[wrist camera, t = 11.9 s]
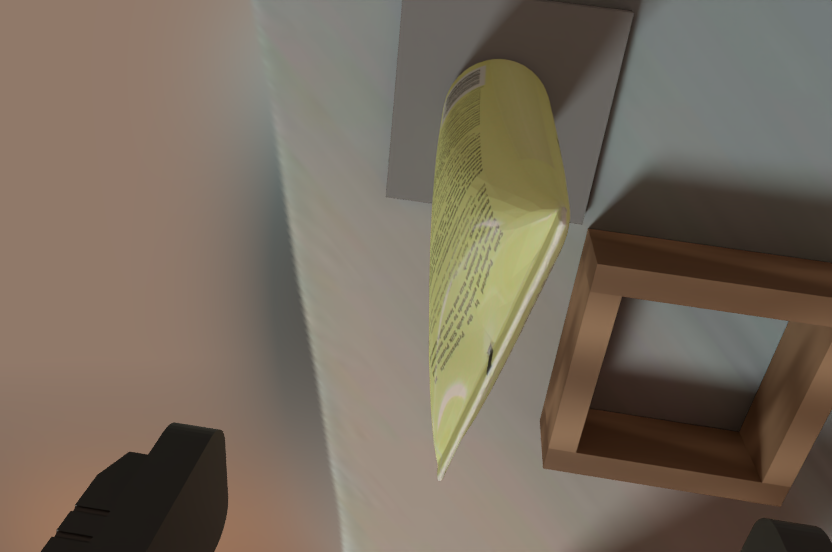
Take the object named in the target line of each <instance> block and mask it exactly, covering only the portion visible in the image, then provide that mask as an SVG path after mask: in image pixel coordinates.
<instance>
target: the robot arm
mask: <svg viewBox="0 0 832 552" xmlns="http://www.w3.org/2000/svg"><path fill="white" fill-rule="evenodd" d="M227 509H228V487H227V469H226V451H225V437H224V433H223V431H222V430H218V429H212V428H206V427H199V426H193V425H187V424H180V423H171V424H170V425H169V426H168V427H167V428H166V429H165V431H164V432H163V433H162V435H161V436H160V438H159V439H158V441H157V442H156V444H155V445H154V447H153V448H152V450H151V451H150V453H149V454H148V455H146V454H141V453H134V452H128V453H127V454H126V455H124V456H123V457H121V458H120V459H119V460H117V461H116V462H115V463H113V464H112V465H110V466H109V467H108V468H107V469H105V470H103V471H102V472H101V473H99V474H98V475H97V476H96V477H95V479H94V480H93V481H92V483H91V484H90V486H89V487H88V488H87V490H86V491H85V492H84V494H83V495H82V496H81V498H80V499H79V500H78V502H77V503H76V504H75V509H74V511H70V513H69V514H68V515H67V517H66V518H65V519H64V521H63V522H62V523H61V525H60V526H59V528H58V529H57V533H56V535H55V537H51V538H50V540H49V541H48V542H47V544H46V545H45V547H44V548H43V549H42V551H41V552H214V551H215V549H216V547H217V545H218V542H219V540H220V537H221V534H222V531H223V528H224V524H225V520H226V515H227ZM741 552H832V543H831V541H830V539H829V538H828V536H827V534H826V533H825V532H824V531H823V530H822V529H820V528H819V527H817V526H810V525H804V524H798V523H792V522H785V521H779V520H773V519H766V518H762V519H759V520H758V521H757V522H756V523H755V524H754V526H753V528H752V530H751V532H750V534H749V536H748V538H747V540H746V542H745V544H744V546H743V548H742V550H741Z"/></svg>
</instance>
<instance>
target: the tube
mask: <svg viewBox="0 0 832 552" xmlns="http://www.w3.org/2000/svg"><path fill="white" fill-rule="evenodd" d="M569 222H570V207H569V199H568V192H567V185H566V178H565V172H564V167H563V161H562V156H561V151H560V147H559V141H558V136H557V132H556V127H555V123H554V118H553V114H552V110H551V105H550V101H549V97H548V95H547V92H546V89H545V87H544V85H543V84H542V82H541V80H540V79H539V78H538V77H537V76H536V75H535V74H534V73H533V72H532V71H531V70H530V69H528V68H527V67H525V66H524V65H522V64H520V63H517V62H515V61H511V60H505V59H491V60H486V61H483V62H480V63H477V64H475V65H473V66H471V67H469V68H468V69H467V70H465V71H464V72H463V73H462V74H461V75H460V76H458V77H457V79H456V80H455V81H454V83H453V84H452V85H451V88H450V90H449V92H448V94H447V96H446V100H445V103H444V107H443V113H442V119H441V126H440V132H439V139H438V146H437V154H436V164H435V175H434V188H433V201H432V221H431V243H430V280H429V370H430V397H431V415H432V428H433V439H434V447H435V453H436V459H437V463H438V470H437V478H438V480H439V481H441V480H442V479H443V477H444V475H445V473H446V470H447V468H448V466H449V464H450V462H451V460H452V458H453V456H454V454H455V452H456V449H457V447H458V445H459V443H460V441H461V439H462V438H463V436H464V435H465V433H466V432H467V430H468V429H469V427H470V426H471V424H472V422H473V421H474V419H475V418H476V416H477V414H478V412H479V411H480V409H481V407H482V405H483V404H484V402H485V400H486V398H487V397H488V395H489V393H490V391H491V389H492V388H493V386H494V384H495V382H496V380H497V378H498V376H499V374H500V372H501V370H502V369H503V367H504V365H505V363H506V361H507V359H508V357H509V355H510V353H511V351H512V349H513V347H514V345H515V343H516V341H517V339H518V337H519V335H520V333H521V331H522V329H523V327H524V324H525V323H526V321H527V319H528V316H529V314H530V312H531V310H532V308H533V306H534V304H535V302H536V300H537V298H538V296H539V294H540V292H541V290H542V288H543V286H544V284H545V282H546V280H547V278H548V276H549V274H550V272H551V270H552V268H553V266H554V263H555V261H556V259H557V257H558V255H559V253H560V251H561V249H562V246H563V244H564V241H565V238H566V236H567V233H568V227H569Z"/></svg>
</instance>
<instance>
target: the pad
mask: <svg viewBox="0 0 832 552" xmlns="http://www.w3.org/2000/svg"><path fill="white" fill-rule="evenodd" d="M633 15H634V12H632V11H630V10H622V9H613V8H605V7H597V6H589V5H581V4H572V3H564V2H556V1H548V0H402V11H401V23H400V35H399V47H398V58H397V70H396V82H395V94H394V106H393V118H392V130H391V142H390V154H389V166H388V178H387V189H386V197H389V198H396V199H403V200H411V201H418V202H425V203H432V201H433V188H434V175H435V164H436V154H437V146H438V139H439V132H440V126H441V119H442V113H443V107H444V103H445V100H446V96H447V94H448V92H449V90H450V88H451V85H452V84H453V83H454V81H455V80H456V79H457V77H458V76H460V75H461V74H462V73H463V72H464V71H465V70H467V69H468V68H469V67H471V66H473V65H475V64H477V63H480V62H483V61H486V60H491V59H505V60H511V61H515V62H517V63H520V64H522V65H524V66H525V67H527V68H528V69H530V70H531V71H532V72H533V73H534V74H535V75H536V76H537V77H538V78H539V79H540V80H541V82H542V84H543V85H544V87H545V89H546V92H547V95H548V97H549V101H550V105H551V110H552V114H553V118H554V123H555V127H556V132H557V136H558V141H559V147H560V151H561V156H562V161H563V167H564V172H565V178H566V185H567V192H568V199H569V207H570V222H569V223H574V224H581V225H582V223H583V219H584V215H585V211H586V207H587V203H588V199H589V195H590V191H591V187H592V183H593V178H594V174H595V170H596V166H597V162H598V158H599V154H600V150H601V146H602V142H603V138H604V134H605V130H606V125H607V121H608V117H609V113H610V109H611V105H612V101H613V97H614V93H615V89H616V85H617V81H618V77H619V72H620V68H621V64H622V60H623V56H624V52H625V48H626V44H627V40H628V36H629V32H630V28H631V24H632V20H633Z"/></svg>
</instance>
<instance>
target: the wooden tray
mask: <svg viewBox="0 0 832 552" xmlns="http://www.w3.org/2000/svg"><path fill="white" fill-rule="evenodd" d="M622 297H629V298H636V299H643V300H650V301H656V302H663V303H670V304H677V305H684V306H691V307H697V308H704V309H711V310H718V311H725V312H732V313H738V314H745V315H752V316H759V317H766V318H773V319H779V320H786V321H789V322H788V324H787V327H786V329H785V331H784V333H783V336H782V338H781V340H780V342H779V344H778V347H777V349H776V351H775V353H774V356H773V358H772V360H771V362H770V365H769V367H768V369H767V371H766V373H765V376H764V378H763V380H762V382H761V385H760V387H759V389H758V391H757V393H756V396H755V398H754V400H753V402H752V405H751V407H750V409H749V411H748V414H747V416H746V418H745V420H744V422H743V425H742V427H741V429H740V431H739V432H736V431H730V430H723V429H717V428H710V427H704V426H698V425H691V424H685V423H678V422H672V421H666V420H659V419H653V418H646V417H640V416H634V415H627V414H621V413H614V412H608V411H602V410H595V409H589V407H590V403H591V400H592V396H593V393H594V390H595V386H596V383H597V379H598V376H599V373H600V369H601V366H602V362H603V359H604V356H605V352H606V349H607V346H608V342H609V339H610V335H611V332H612V329H613V325H614V322H615V318H616V315H617V312H618V308H619V305H620V301H621V298H622ZM831 410H832V263H829V262H822V261H815V260H808V259H801V258H794V257H787V256H780V255H773V254H765V253H758V252H751V251H744V250H737V249H730V248H723V247H716V246H709V245H702V244H695V243H687V242H680V241H673V240H666V239H659V238H652V237H645V236H638V235H631V234H624V233H616V232H609V231H602V230H595V229H588V231H587V235H586V239H585V243H584V247H583V251H582V255H581V259H580V263H579V267H578V271H577V275H576V279H575V283H574V287H573V291H572V295H571V299H570V303H569V307H568V311H567V315H566V319H565V323H564V327H563V331H562V335H561V339H560V343H559V347H558V351H557V355H556V359H555V363H554V367H553V371H552V375H551V379H550V383H549V386H548V390H547V394H546V398H545V402H544V406H543V410H542V414H541V418H540V429H541V444H542V459H543V468H545V469H551V470H557V471H563V472H569V473H575V474H582V475H588V476H594V477H600V478H606V479H612V480H619V481H625V482H631V483H637V484H643V485H649V486H656V487H662V488H668V489H674V490H680V491H686V492H693V493H699V494H705V495H711V496H717V497H723V498H730V499H736V500H742V501H748V502H754V503H760V504H767V505H773V506H779V507H780V506H781V505H782V503H783V501H784V499H785V497H786V495H787V493H788V491H789V489H790V487H791V486H792V484H793V482H794V480H795V478H796V476H797V474H798V472H799V470H800V469H801V467H802V465H803V463H804V461H805V459H806V457H807V455H808V453H809V451H810V450H811V448H812V446H813V444H814V442H815V440H816V438H817V436H818V434H819V432H820V431H821V429H822V427H823V425H824V423H825V421H826V419H827V417H828V415H829V414H830V412H831Z"/></svg>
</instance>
